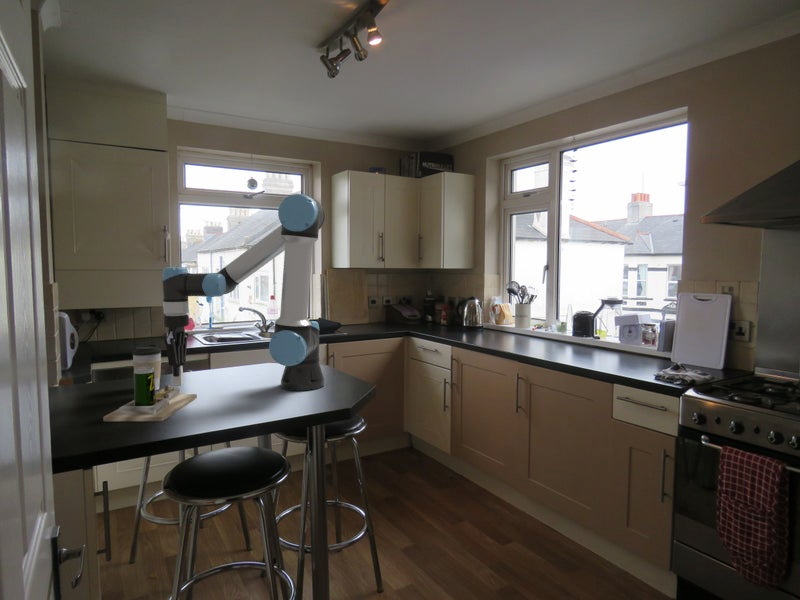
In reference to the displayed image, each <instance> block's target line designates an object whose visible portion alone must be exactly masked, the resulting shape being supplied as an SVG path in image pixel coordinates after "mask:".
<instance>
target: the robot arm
mask: <svg viewBox="0 0 800 600" xmlns="http://www.w3.org/2000/svg"><path fill="white" fill-rule="evenodd" d="M277 215H278V216H277V217H278V220H279V223H280V225H279V226H278V227H276V229H274V230H273V231H271V232H269V234H267V235H266V236H265V237H263V238H261V240H259V241H258V242H256V243H254V245H253V246H251V247H249V248H248V249H247V250H246V251H245V252H243V253H241V254H240V255H239V256H238V257H236V258H234V260H232V261H231V262H229V263H228V264H226V266H224V267H223V268H221V269H220V270H219V271H217V272H211V273H210V272H207V273H206V272H203V273H202V272H201V273H197V272H196V273H190V272H189V271H188V270H189V269H188V268H187V267H182V266H181V267H180V266H174V267H173V266H169V267H167V266H166V267H164V268H163V270H162V279H161V282H162V294H163V296H162V297H163V299H162V301H163V303H162V309H163V314H164V316H163V327H165V328H168V330H167V331H168V332H167V337H164V340H163V341H164V343H165V346H166V356H167V363H168V366H169V368H170V367H172V387H183V385H184V371H183V370H184V369H183V367H184V366H186V364H187V363H186V361H187V349H188V348H187V347H188V338H189V333H188V332H186V329H185V327H188V326H189V325H190V319H189V318H190V315H189V314H188V313H189V312H190V309H189V297H209V298H216V297H222V296H223V295H228V294H229V293H232V292H234V290H235V289H236V288H237V287H238V285H240V284H241V283H243V281H245V280H247V278H249V277H250V276H252V275H253V274H254V273H256V272H257V271H259V270H260V269H261V268H263V267H264V266H265V265H267V264H268V263H269V262H271V261H272V260H274V259H275V258H276V257H278V256H280V255H281V254H282V253H283V252H284V256H283V272H282V283H281V284H282V285H281V298H280V299H281V300H280V315H279V317H278V318H277V319H276V320H275V321H274V331H273V335H272V336H271V337H270V340H269V343H268V344H269V345H268V350H269V354H270V357H271V358H272V359H273V360H274V361H275V362H276V363H277V364H279V365H281V366H284V369H283V373H282V376H281V379H280V387H281V389H284V390H286V389H287V391H295V390H297V391H299V392H300V391H303V392H304V391H312V390H311V389H313V390H318V389H320V387H321V388H322V386H323V387H325V385H324V384H325V383H326V382H325V381H326V380H325V376H324V373H323V370H322V367H321V364H320V332H321V331H320V326H319V325H320V324H319V322H318V321H316V320H315V321H314V320H309V318H308V312H309V299H310V285H311V271H312V260H313V259H312V258H313V248H314V247H313V245H314V243H316V242H318V240H319V232H320V230H321V229H322V227H323V226H324V224H325V221H326V212H325V209H324V207H323V206H322V204H321V203H320V202H319V201H317V200H316V199H314V198H312V197H311V196H309V195H307V194H303V193H293V194H290V195H288V196H286V197H285V198H284V199H283V200H282V201H281V203H280V204H279V206H278V212H277ZM317 388H318V389H317ZM297 391H296V392H297Z"/></svg>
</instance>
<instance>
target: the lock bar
mask: <svg viewBox="0 0 800 600" xmlns="http://www.w3.org/2000/svg"><path fill="white" fill-rule="evenodd" d="M163 388H164V389H163ZM163 388H162V389H163V390H162V391H160V392H158V393H156V401H157V399H158V398H166V397H165V394H167V393H169V392H170V391H172V390H174V389H176V386H171V385H170V384H167V385H164V387H163Z"/></svg>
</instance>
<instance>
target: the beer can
mask: <svg viewBox="0 0 800 600" xmlns="http://www.w3.org/2000/svg"><path fill="white" fill-rule="evenodd" d="M134 370H135V371H134ZM155 392H156V390H155V371H154V367H149V366H147V367H138V368H135V369H134V368H133V393H134V396H133V397H134V400H135V406H153V405H154V404H156V397H155Z"/></svg>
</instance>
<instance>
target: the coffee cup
mask: <svg viewBox="0 0 800 600" xmlns="http://www.w3.org/2000/svg"><path fill="white" fill-rule="evenodd" d="M161 353H162V348H159V347H158V345H156V344H149V345H141V346H136V347H135V348H134V350H132V353H131V355H132V359H133V361H132V365H133V372H134V371H135V370H134V369H135V368H138V367H147V366H149V367H154V371H155V391H159V390H160V380H161V373H162V371H161V367H162V359H161V358H162V354H161Z"/></svg>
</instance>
